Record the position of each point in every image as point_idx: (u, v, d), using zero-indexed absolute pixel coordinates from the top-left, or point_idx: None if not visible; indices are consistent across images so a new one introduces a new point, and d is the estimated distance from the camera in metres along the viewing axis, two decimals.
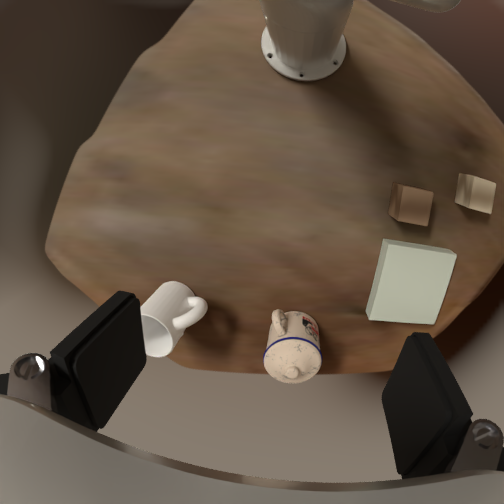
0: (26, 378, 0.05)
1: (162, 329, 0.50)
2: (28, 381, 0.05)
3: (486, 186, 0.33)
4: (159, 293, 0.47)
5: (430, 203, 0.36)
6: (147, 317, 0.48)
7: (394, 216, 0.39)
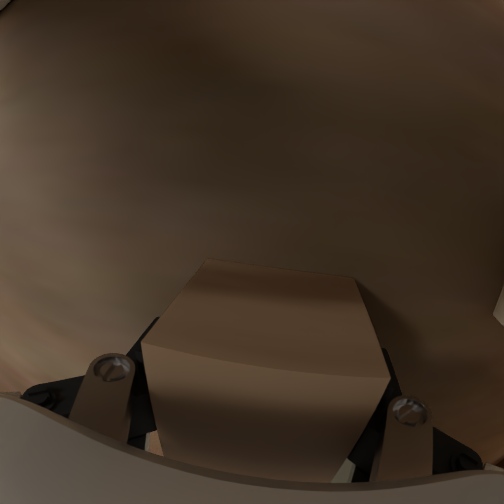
0: (106, 378, 0.06)
1: None
2: (106, 383, 0.06)
3: None
4: None
5: (355, 428, 0.06)
6: None
7: None
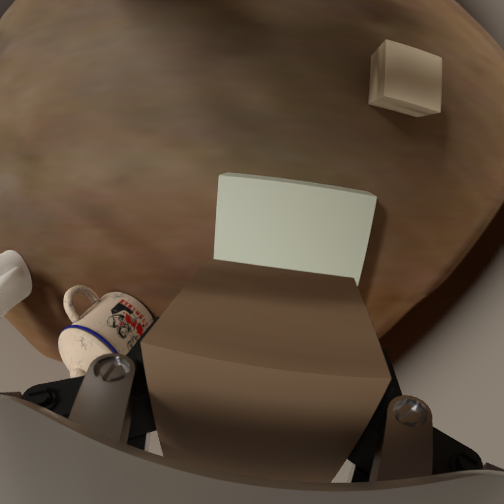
0: (106, 377, 0.06)
1: None
2: (106, 383, 0.06)
3: (420, 60, 0.16)
4: None
5: (355, 428, 0.06)
6: None
7: None
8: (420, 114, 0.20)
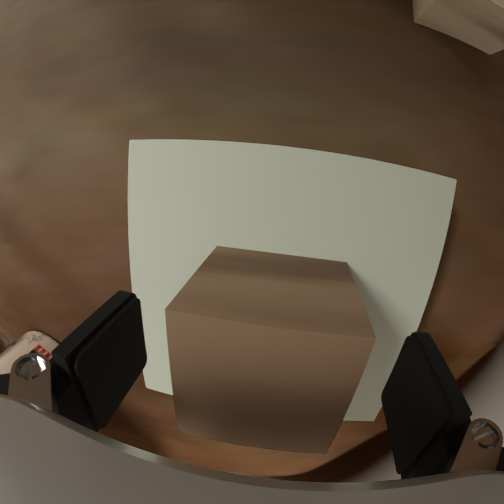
0: (27, 378, 0.05)
1: None
2: (29, 381, 0.05)
3: None
4: None
5: (348, 387, 0.07)
6: None
7: None
8: (500, 44, 0.07)
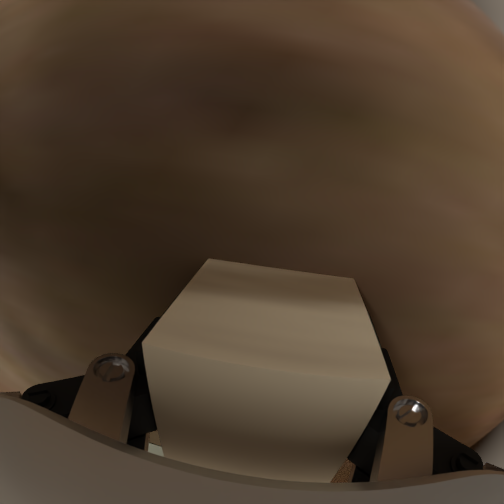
0: (106, 378, 0.06)
1: None
2: (106, 383, 0.06)
3: (284, 405, 0.05)
4: None
5: None
6: None
7: None
8: None
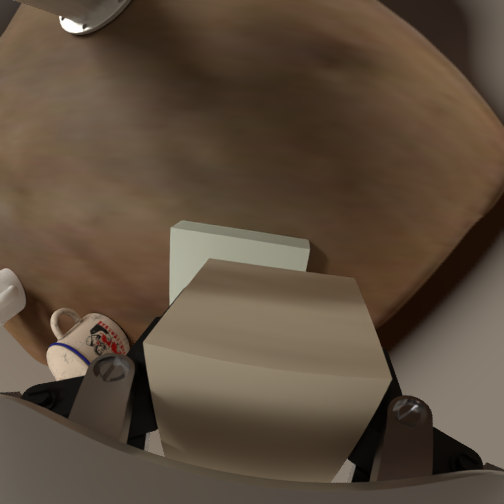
0: (106, 378, 0.06)
1: None
2: (106, 383, 0.06)
3: (285, 405, 0.05)
4: None
5: None
6: None
7: None
8: None
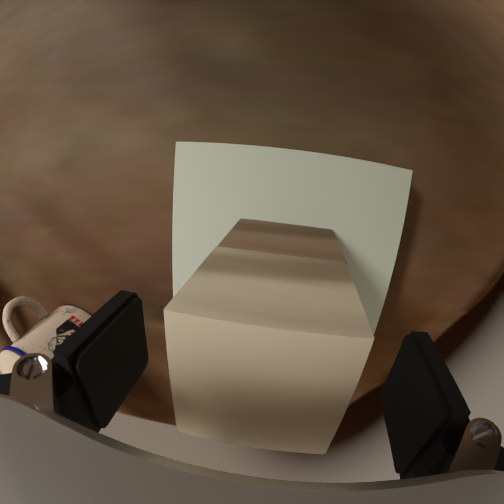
0: (29, 378, 0.05)
1: None
2: (30, 381, 0.05)
3: (284, 363, 0.07)
4: None
5: None
6: None
7: None
8: None
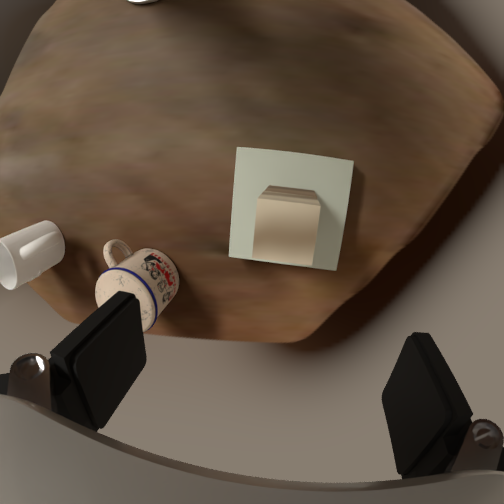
0: (27, 378, 0.05)
1: None
2: (28, 381, 0.05)
3: (294, 215, 0.23)
4: None
5: None
6: None
7: None
8: None
